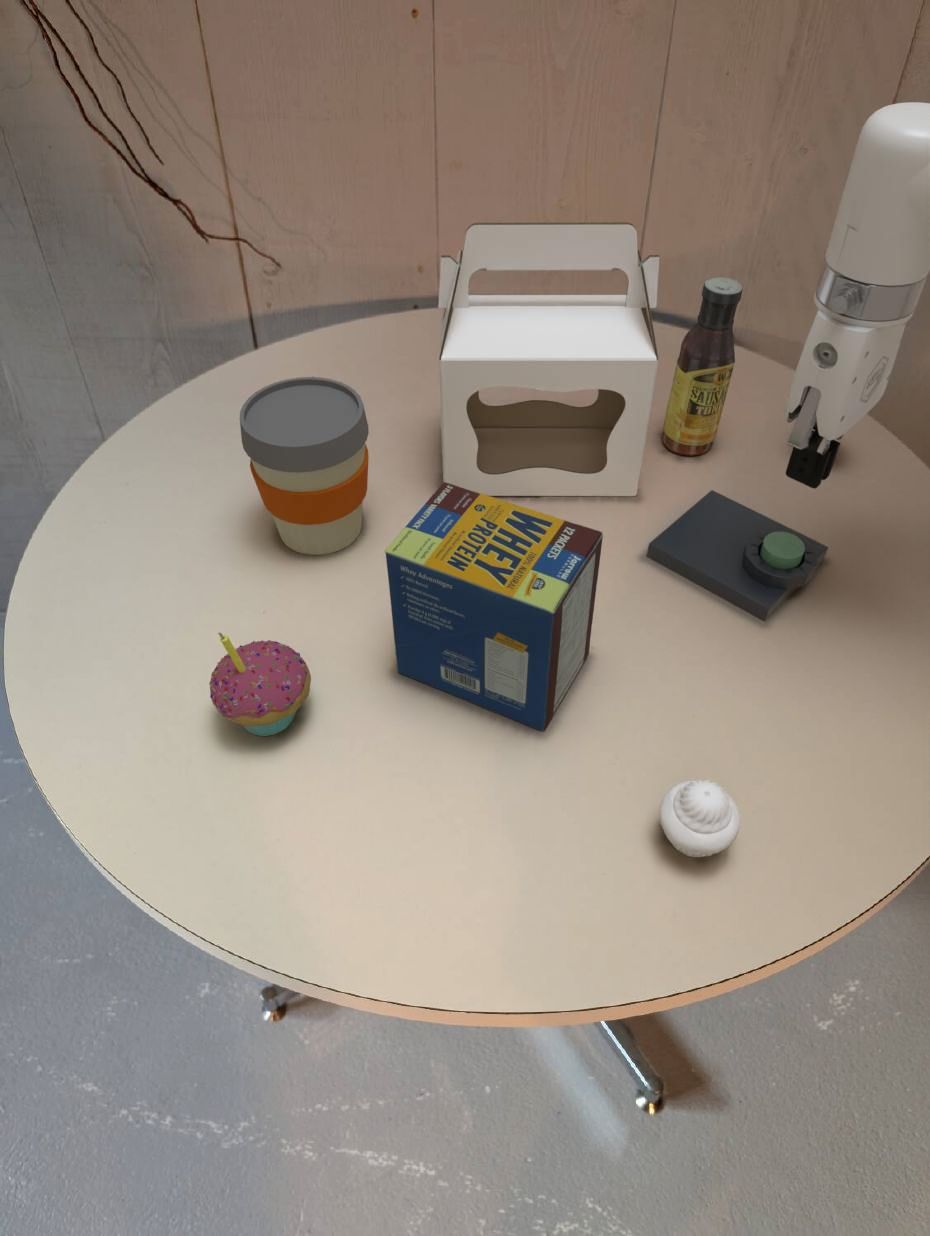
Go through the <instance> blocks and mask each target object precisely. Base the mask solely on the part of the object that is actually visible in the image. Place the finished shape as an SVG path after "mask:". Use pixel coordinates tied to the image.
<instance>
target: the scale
mask: <svg viewBox="0 0 930 1236" xmlns="http://www.w3.org/2000/svg"><path fill="white" fill-rule="evenodd" d="M773 532H787V533H790V534H793V535H795V536H797V537H798V538H799V539H801V541H802V542H803V543H804V546H805V551H804V554H803V557H802V560H801V562H800V564H799V565H798V566H797V567H795V568H792V569H787V570H785V569H778V568H774V567H772V566H770V565H768V564H766V563H765V562H764V561H763V559H762V558H761V555H760V550H761V547H762V544H763V540H764V538H765V537H766V536H767V535H768V534H770V533H773ZM647 547H648V548H647V553H646V557H647V558H648V559H650V560H652V561H654V562H656V563H658V564H660V565H662V566H663V567H665V568H667V569H668V570H670V571H672V572H674V573H676V574H678V575H679V576H681V577H683V578H685V579H687V580H688V581H690V582H692V583H694V584H696V585H698V586H699V587H701V588H703V589H705V590H706V591H708V592H710V593H712V594H713V595H716V596H717V597H719V598H721V599H723V600H725V601H727V602H728V603H730V604H732V605H734V606H736V607H738V608H739V609H741V610H743V611H744V612H747V613H748V614H750V615H752V616H753V617H755V618H757V619H759V620H761V621H763V622H766V621H767V620H768V619H769V618H770V617H771V616H772V615H773V614H774V613H775V612H776V610H778V609H779V607H781V605H782V604H783V603H784V602H785V601H786V600H787V599H788V598H789V597H790V596H791V595H792V594H793V593H794V592H795V591H796V590H797V588H801V587H804V586H805V585H807V583H808V582H809V581H810V580H811V579H812V578H813V577H814V575H815V572H816V569H817V568H818V567H819V566H820V565H821V564H822V563H823V561H824V560H825V557H826V555H827V553H828V550H829V546H827V545H826V544H823V543H821V542H820V541H817V540H815V539H813V538H811V537H808V536H806V535H805V534H802V533H801V532H799V531H796V530H795V529H792V528H790V527H788V526H787V525H784V524H782V523H780V522H779V521H776V520H775V519H772V518H770V517H768V516H766V515H764V514H762V513H760V512H758V511H755V510H754V509H751V508H749V507H748V506H746V505H744V504H741V503H740V502H738V501H736V500H733V499H731V498H729V497H727V496H725V495H723V494H721V493H719V492H717V491H715V490H713V489H711V490H710V491H709V492H707V493H706V494H705V495H703V497H702V498H701V499H699V500H698V501H697V502H696V503H695V504H693V505H692V506H691V507H690V508H689V509H688V510H687V511H685V513H683V514H682V515H681V516H680V517H678V518H677V519H676V520H674V522H672V523H671V524H670V525H669V526H668V527H667V528H665V529H664V530H663V531H662V532H661V533H660V534H658V535H657V536H656V537H655V538H653V539H652V540H651V541H650V542H649V543H648V546H647Z"/></svg>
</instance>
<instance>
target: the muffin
mask: <svg viewBox="0 0 930 1236" xmlns="http://www.w3.org/2000/svg"><path fill="white" fill-rule="evenodd" d="M737 806H738V805H737V804H736V802H735V801H734V799H733V798H732V797H731V796H730V795H729V794H728V793H727V792H726V791H725V789H724V788H723V787H722V786H719V784H718V783H717V782H714V781H713V782H711V781H710V780H709V779H705V780H701V779H699V778H698V779H691V780H684V781H681V782H678V783H676V784H674V785H673V786H672V787H670V788H669V789H668V790H667V791H666V792H665V794H664V795H663V797H662V799H661V802H660V804H659V809H658V816H659V822H660V825H661V828H662V829H663V834H664V835H665V836H666V838H667V840H668V841H669V842H670V843H671V844H672V846H673V848H675V850H677V851H678V852H679V853H681V854H683V855H684V856H687V857H691V858H696V859H697V858H703V857H704V858H705V857H711V856H712V855H715V854H720V852H722V851H724V850H725V849H727V848H728V847H729V846H730V845H732V843H733V842H734V841H735V840H736V838H737V836H738V834H739V831H740V828H741V815H740V811H739V808H738V807H737Z"/></svg>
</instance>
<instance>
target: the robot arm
mask: <svg viewBox="0 0 930 1236" xmlns="http://www.w3.org/2000/svg"><path fill="white" fill-rule="evenodd" d="M929 273H930V102H920V101H919V102H918V101H913V102H912V101H910V102H898V103H893V104H889V105H886V106H883V107H881V108H879V109H877V110H876V111H874V112H873V113H872V114H871V115H870V116H869V117H868V119H867V120H866V121H865V122H864V125H863V126H862V128H861V130H860V133H859V137H858V140H857V143H856V146H855V150H854V153H853V156H852V160H851V164H850V168H849V171H848V174H847V177H846V181H845V185H844V188H843V192H842V196H841V199H840V202H839V206H838V210H837V213H836V217H835V220H834V224H833V227H832V231H831V234H830V237H829V241H828V245H827V248H826V252H825V256H824V259H823V263H822V265H821V269H820V273H819V277H818V280H817V283H816V287H815V291H814V295H813V302H814V305H815V307H816V308H817V309H818V310H817V312H816V314H815V318H814V320H813V322H812V325H811V327H810V330H809V333H808V335H807V337H806V341H805V343H804V346H803V348H802V351H801V355H800V357H799V359H798V363H797V366H796V369H795V371H794V375H793V378H792V381H791V385H790V388H789V391H788V393H787V394H788V395H787V399H786V402H785V407H784V414H783V415H784V420H785V422H786V423H788V424H789V423H791V422H793V421H795V422H794V424H793V428H792V430H791V432H790V435H789V437H788V439H787V443H786V444H787V445H788V446H790V447H792V451H791V454H790V456H789V460H788V463H787V467H786V470H785V476H786V477H788V478H789V479H792V480H794V481H796V482H798V483H799V484H802V485H805V486H806V487H809V488H811V489H814V490H815V489H817V488H818V487H819V486H821V484H822V481H825V480H827V479H828V478H829V477H830V475H831V472H832V469H833V466H834V464H835V460H836V458H837V455H838V451H839V449H840V446H841V442H840V441H841V440H842V438H843V437H844V435H845V434H846V433H847V432H848V431H849V430H850V429H851V428H853V427H854V426H855V425H856V424H857V423H858V422H859V421H860V420H861V419H862V418H864V417H865V416H866V415H867V414H868V413H869V412H871V410H872V409H873V408H874V407H876V405H877V404H878V403H880V400H881V399H882V397H883V396H884V394H885V392H886V389H887V386H888V383H889V380H890V378H891V375H892V371H893V368H894V364H895V361H896V358H897V355H898V352H899V350H900V349H899V348H900V345H901V342H902V340H903V335H904V332H905V329H906V325H907V322H909V320H910V319H912V317H913V315H914V313H915V310H916V307H917V306H918V303H919V299H920V297H921V294H922V291H923V290H924V286H925V283H926V281H927V278H928V276H929ZM835 439H837V440H838V441H835Z"/></svg>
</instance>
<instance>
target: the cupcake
mask: <svg viewBox="0 0 930 1236" xmlns="http://www.w3.org/2000/svg"><path fill="white" fill-rule="evenodd" d="M217 634H218V635H219V636H220V638H219V641H220V642H221V644H222V646H223V648H224V649H225V651H226V653H227V654H225V655H224V656H223V657H221V658H220V660H219V661H217V663H216V666H215V668H214V670H213V671H212V672H211V675H210V680H209V684H208V686H209V693H210V696H209V697H210V699H211V702H212V704H213V706H214V707H215V709H216V710H217V712H218V713H220V715H221V716H222V717H223V718H224V719H227V720H230V721H232V722H234V723H236V724H239V725H241V726H243V728H244V729H245V730H246V731H247V732H249V733H250V734H253V735H256V736H259V737H260V736H261V737H267V736H268V737H269V736H273V735H276V734H279V733H281V732H282V731H284V730H285V729H287V728H288V727H289V726H290V725H291V724H292V723H293V720H294V717H295V715H296V712H297V711H298V710H299V708H301V706H302V705H303V704H304V703H305V701H306V700H307V699H308V697H309V695H310V692H311V682H312V676H311V675H312V674H311V672H310V669H309V666H308V664H307V663H306V661H305V659H303V657H302V656H301V653H300V652H297V651H296V650H295V649H293V648H292V647H290V646H289V645H287V644H284V643H281V642H278V641H274V640H269V639H267V640H263V639H261V640H260V641H259V640H257V641H255V640H253V641H252V642H250V643H247V644H245V645H239V647H236V648H235V647H234V646H235V645H233V644H232V641H231V639H230V638H229V636H228V635H226V634H225V635H223V634H222V632H220V631H218V632H217Z"/></svg>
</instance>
